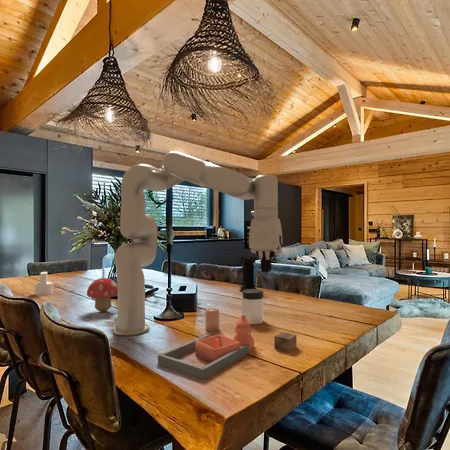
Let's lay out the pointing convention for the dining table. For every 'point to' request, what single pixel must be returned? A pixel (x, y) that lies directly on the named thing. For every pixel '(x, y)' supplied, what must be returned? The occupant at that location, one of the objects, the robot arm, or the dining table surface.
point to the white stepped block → (43, 285)
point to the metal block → (285, 341)
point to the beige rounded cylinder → (212, 319)
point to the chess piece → (248, 273)
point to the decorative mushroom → (102, 293)
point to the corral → (193, 370)
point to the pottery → (225, 342)
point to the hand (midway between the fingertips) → (266, 271)
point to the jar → (253, 305)
